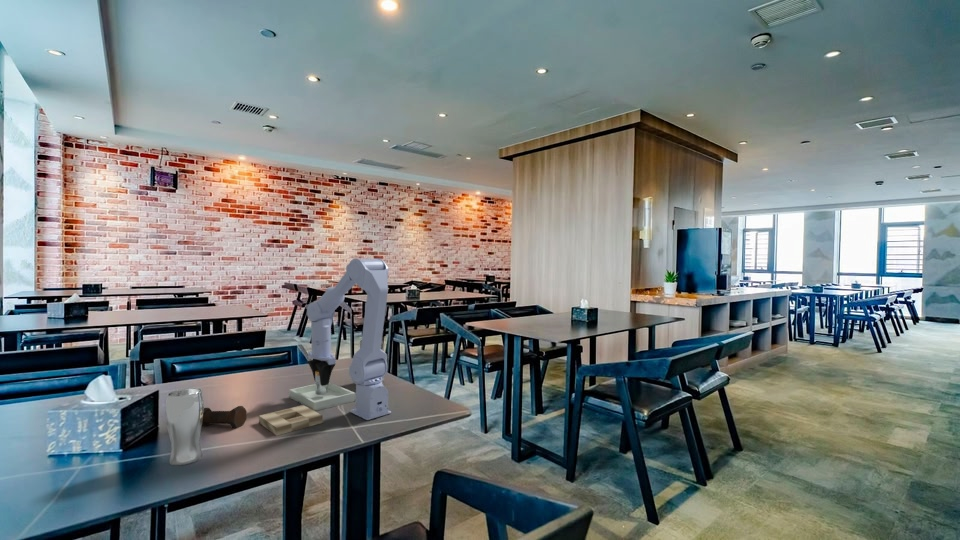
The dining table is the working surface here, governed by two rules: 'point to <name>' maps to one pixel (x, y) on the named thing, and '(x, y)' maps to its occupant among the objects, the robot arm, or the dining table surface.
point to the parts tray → (321, 396)
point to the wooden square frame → (290, 419)
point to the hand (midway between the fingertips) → (321, 383)
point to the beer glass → (185, 424)
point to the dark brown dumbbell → (225, 417)
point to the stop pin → (319, 385)
